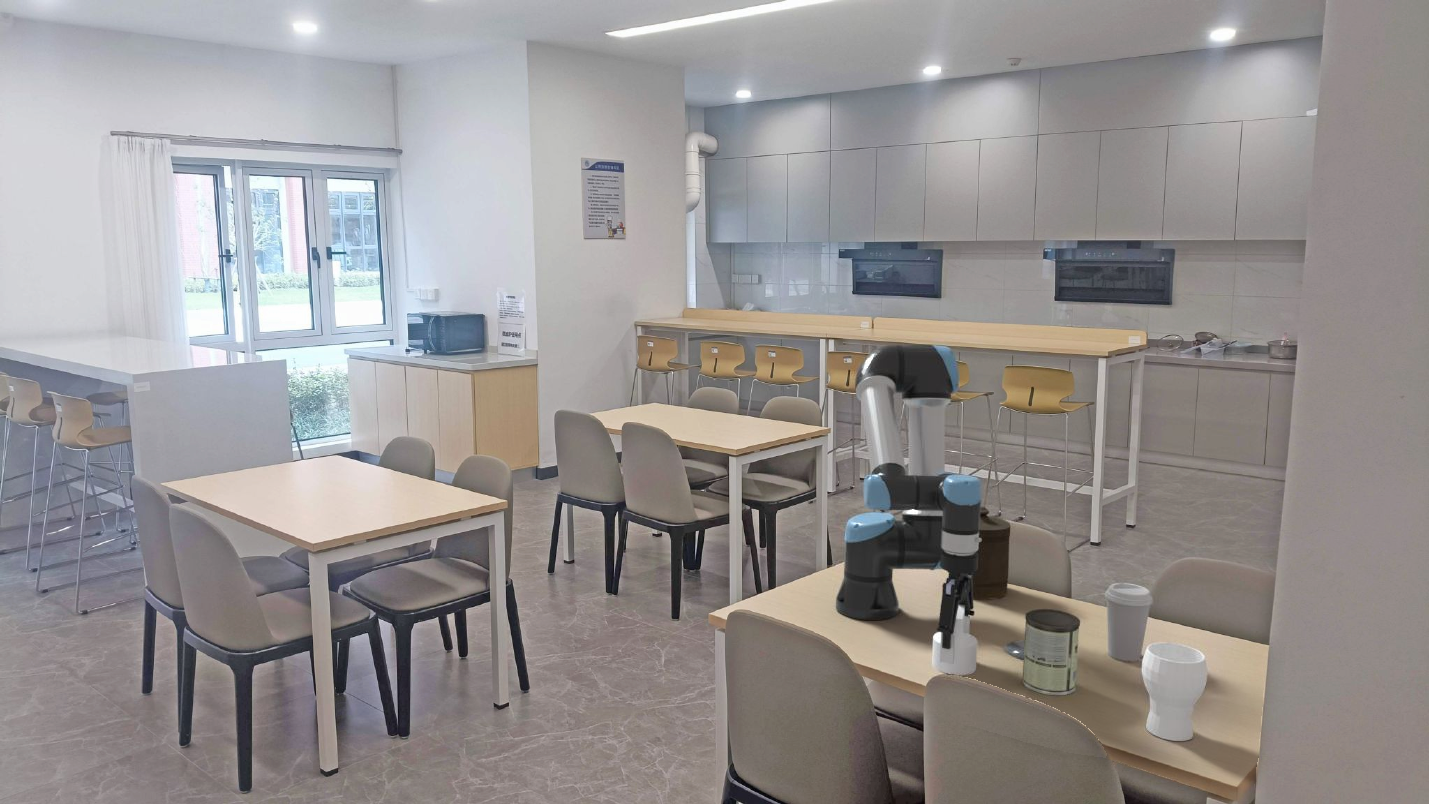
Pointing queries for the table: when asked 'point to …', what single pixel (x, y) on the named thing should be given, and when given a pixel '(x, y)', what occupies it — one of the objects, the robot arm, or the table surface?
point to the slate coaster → (1016, 649)
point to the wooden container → (992, 558)
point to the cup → (1173, 688)
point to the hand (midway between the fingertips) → (954, 653)
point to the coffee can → (1050, 651)
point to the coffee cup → (1127, 620)
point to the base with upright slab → (957, 649)
